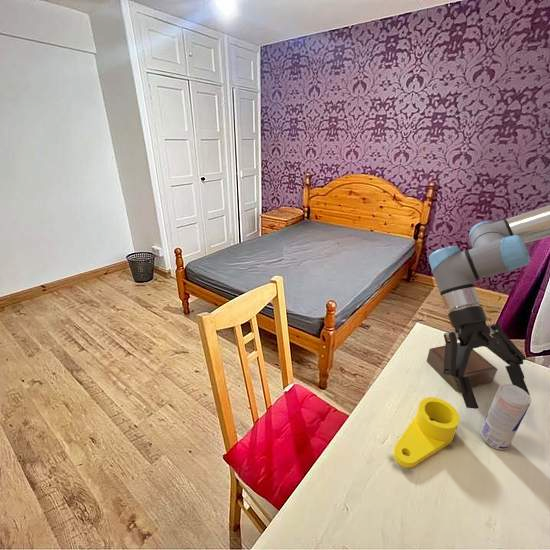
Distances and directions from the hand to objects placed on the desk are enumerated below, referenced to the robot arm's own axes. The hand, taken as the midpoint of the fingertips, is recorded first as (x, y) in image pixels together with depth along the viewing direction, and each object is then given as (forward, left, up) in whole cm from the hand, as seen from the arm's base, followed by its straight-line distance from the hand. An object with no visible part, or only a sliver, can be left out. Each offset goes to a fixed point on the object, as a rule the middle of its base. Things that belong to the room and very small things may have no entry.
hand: (498, 401), depth 68 cm
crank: (+16, -2, -10) cm, 19 cm away
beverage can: (0, +2, -10) cm, 10 cm away
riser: (-8, -18, -10) cm, 22 cm away
